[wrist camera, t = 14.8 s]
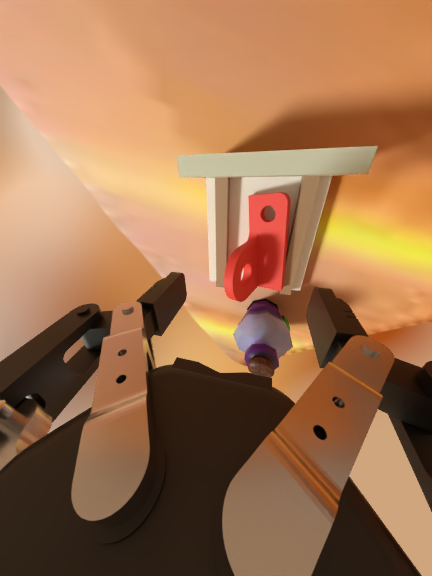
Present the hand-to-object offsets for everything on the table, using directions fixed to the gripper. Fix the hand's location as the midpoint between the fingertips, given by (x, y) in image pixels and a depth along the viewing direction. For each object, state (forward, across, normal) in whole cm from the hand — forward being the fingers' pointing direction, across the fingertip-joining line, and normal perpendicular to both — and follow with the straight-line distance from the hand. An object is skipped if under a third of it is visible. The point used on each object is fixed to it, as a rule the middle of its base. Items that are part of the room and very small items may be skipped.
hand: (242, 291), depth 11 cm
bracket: (+14, -2, +1) cm, 15 cm away
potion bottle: (+17, -3, +14) cm, 22 cm away
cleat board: (+16, 0, 0) cm, 17 cm away
